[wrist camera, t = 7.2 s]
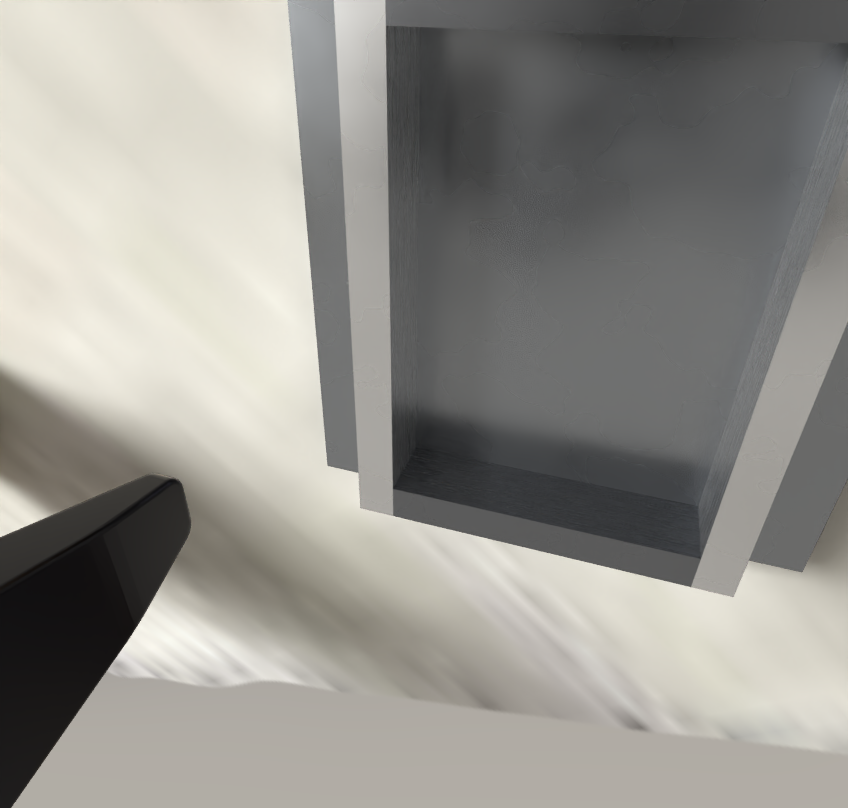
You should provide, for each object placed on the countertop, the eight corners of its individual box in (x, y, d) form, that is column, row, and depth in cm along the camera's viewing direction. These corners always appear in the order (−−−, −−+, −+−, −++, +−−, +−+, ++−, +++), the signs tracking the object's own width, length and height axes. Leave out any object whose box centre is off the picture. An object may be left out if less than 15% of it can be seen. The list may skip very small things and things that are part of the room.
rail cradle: (1512, -950, 6) (1917, -1399, 4) (798, 556, 18) (815, 631, 16) (251, -637, 10) (139, -802, 8) (335, 455, 21) (299, 505, 19)
